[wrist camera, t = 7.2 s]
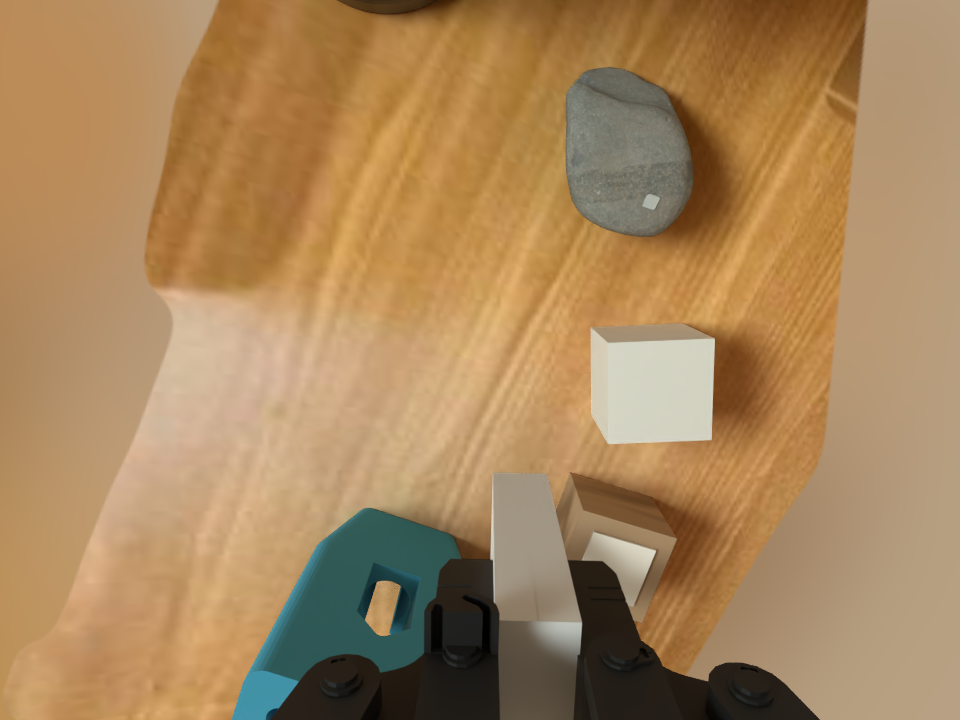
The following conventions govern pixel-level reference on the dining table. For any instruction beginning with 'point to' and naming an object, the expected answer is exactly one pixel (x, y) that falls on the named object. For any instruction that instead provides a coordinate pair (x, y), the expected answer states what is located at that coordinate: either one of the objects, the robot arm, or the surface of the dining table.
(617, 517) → the marked block
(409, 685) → the robot arm
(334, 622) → the block
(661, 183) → the stone
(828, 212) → the dining table surface
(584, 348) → the dining table surface
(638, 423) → the plain block
